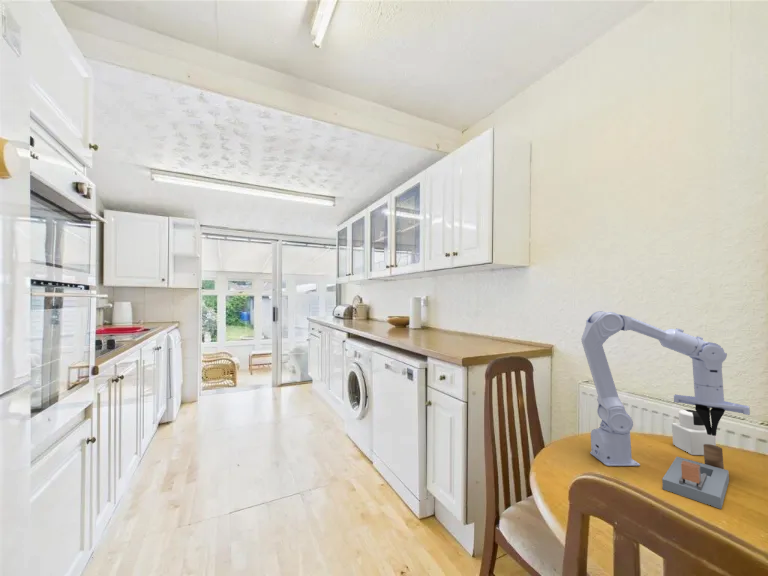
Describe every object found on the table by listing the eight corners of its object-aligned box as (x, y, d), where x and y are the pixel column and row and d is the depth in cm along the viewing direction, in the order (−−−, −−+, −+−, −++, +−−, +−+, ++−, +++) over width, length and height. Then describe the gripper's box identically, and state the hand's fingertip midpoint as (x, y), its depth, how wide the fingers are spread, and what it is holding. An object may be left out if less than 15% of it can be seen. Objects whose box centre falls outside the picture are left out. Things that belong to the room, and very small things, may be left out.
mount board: (721, 509, 70) (720, 494, 71) (662, 489, 78) (661, 475, 78) (729, 480, 82) (728, 467, 82) (677, 465, 89) (676, 453, 90)
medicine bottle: (696, 445, 101) (693, 407, 102) (717, 456, 94) (714, 415, 95) (672, 444, 102) (670, 407, 103) (691, 455, 95) (688, 415, 96)
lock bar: (699, 488, 74) (698, 468, 74) (682, 482, 77) (681, 463, 77) (704, 477, 79) (702, 459, 79) (687, 472, 81) (686, 454, 81)
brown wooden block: (714, 474, 84) (712, 450, 85) (701, 467, 88) (699, 444, 88) (728, 474, 84) (726, 449, 85) (714, 467, 88) (712, 444, 88)
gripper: (748, 387, 84) (752, 438, 83) (676, 377, 96) (679, 423, 95) (747, 391, 80) (751, 446, 79) (671, 381, 91) (674, 429, 90)
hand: (711, 434), depth 87 cm, fingers closed
